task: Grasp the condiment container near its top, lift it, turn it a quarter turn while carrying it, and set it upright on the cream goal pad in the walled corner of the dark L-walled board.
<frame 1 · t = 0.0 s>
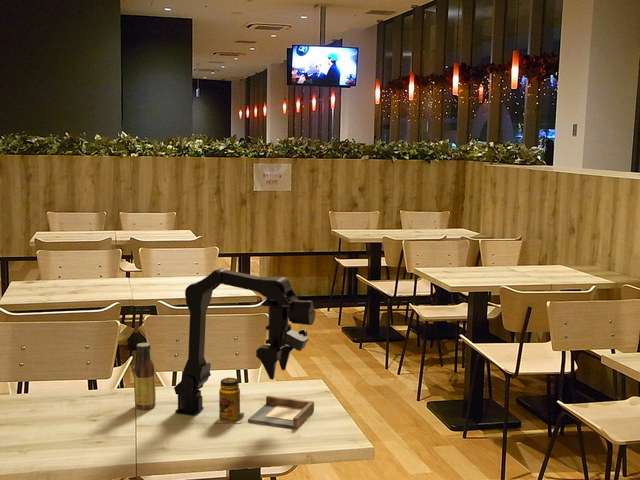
hand: (277, 374, 229), 15 cm above the table, fingers open, 9 cm apart
sauce bottle: (145, 407, 242), on the table
condiment: (230, 418, 234), on the table
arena: (279, 416, 236), on the table
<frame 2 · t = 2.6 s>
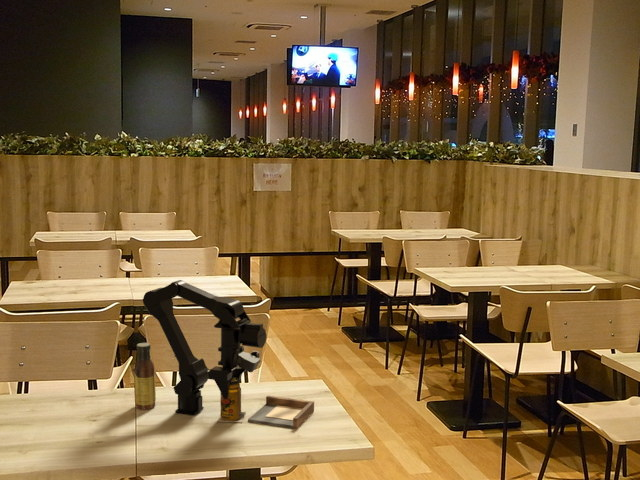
hand: (230, 395, 233), 7 cm above the table, fingers closed on condiment, 6 cm apart
condiment: (231, 417, 235), on the table, touching gripper
everything else where it was.
when the fingers open (9 cm above the table, at t = 7.1 s): condiment stays where it is, resting on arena.
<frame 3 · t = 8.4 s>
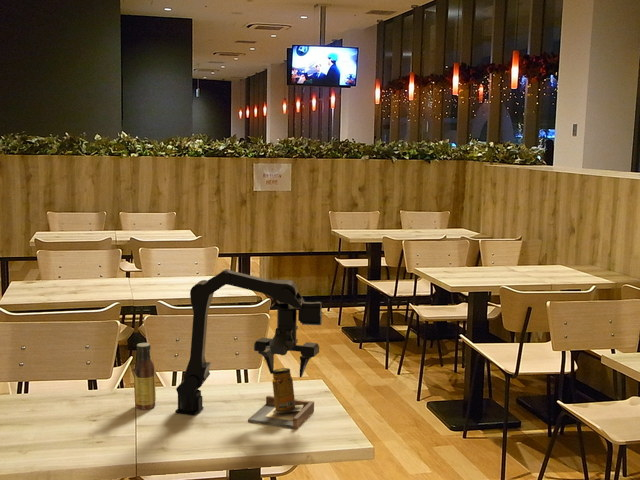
hand: (286, 375, 235), 13 cm above the table, fingers open, 9 cm apart
condiment: (288, 410, 236), point 2 cm above the table, touching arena, gripper
everything else where it was.
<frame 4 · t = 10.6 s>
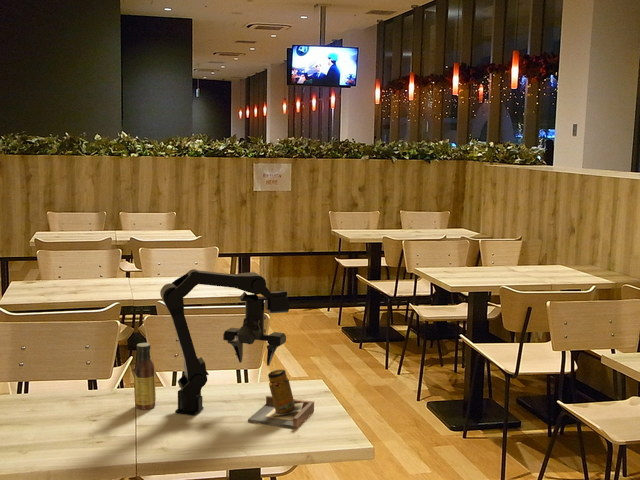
hand: (254, 363, 244), 13 cm above the table, fingers open, 9 cm apart
condiment: (288, 410, 236), point 2 cm above the table, touching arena
everything else where it was.
at the end: condiment 1.0 cm from the target spot on the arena, point 1.8 cm above the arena's base; condiment tilted 14°; the gripper is holding nothing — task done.
